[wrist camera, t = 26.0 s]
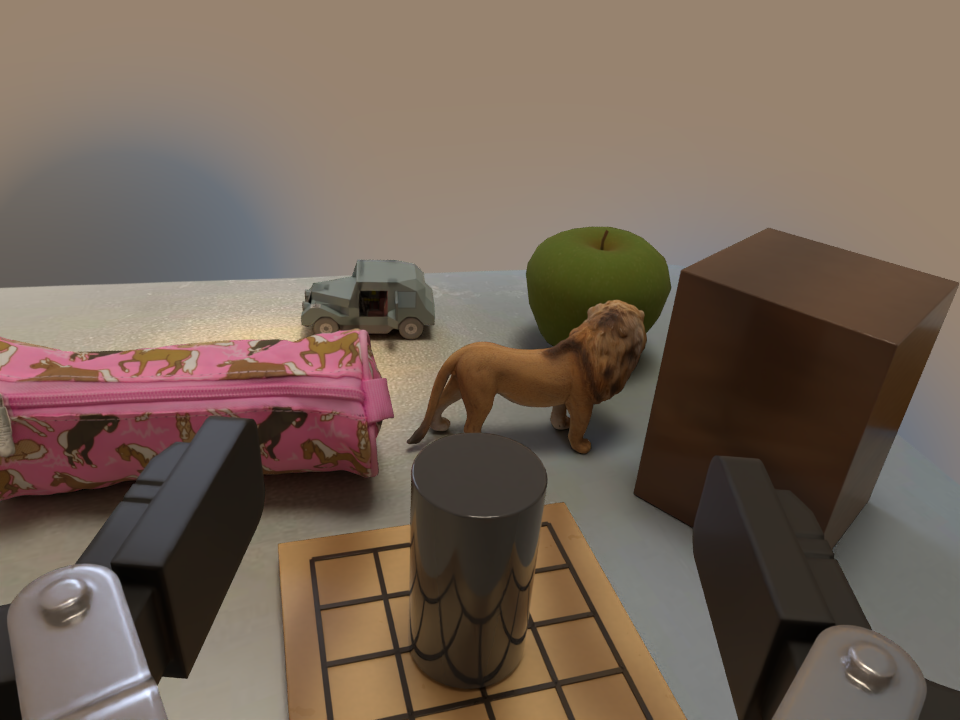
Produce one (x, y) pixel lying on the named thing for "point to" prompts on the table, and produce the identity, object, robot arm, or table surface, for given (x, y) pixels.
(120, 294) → the table surface
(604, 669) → the grid board
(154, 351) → the pencil case
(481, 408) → the lion figurine
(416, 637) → the glossy dark cylinder
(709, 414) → the walnut plinth
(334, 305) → the toy car
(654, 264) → the apple
